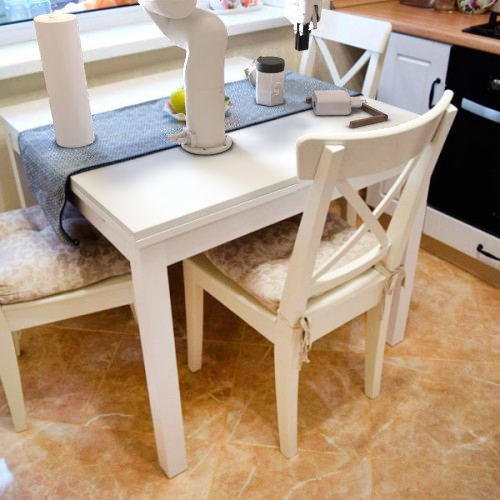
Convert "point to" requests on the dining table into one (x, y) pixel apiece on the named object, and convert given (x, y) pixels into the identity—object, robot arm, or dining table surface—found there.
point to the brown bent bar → (377, 117)
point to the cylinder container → (65, 78)
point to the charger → (334, 102)
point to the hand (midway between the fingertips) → (301, 49)
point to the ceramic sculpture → (252, 73)
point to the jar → (270, 80)
